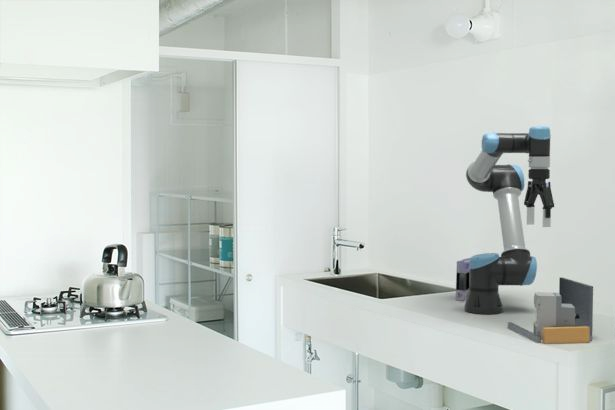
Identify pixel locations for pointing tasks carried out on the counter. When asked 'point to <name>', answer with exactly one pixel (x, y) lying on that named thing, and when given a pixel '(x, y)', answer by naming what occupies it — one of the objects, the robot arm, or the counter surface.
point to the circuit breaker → (552, 312)
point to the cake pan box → (462, 279)
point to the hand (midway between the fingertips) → (538, 225)
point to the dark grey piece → (571, 294)
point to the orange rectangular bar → (566, 334)
